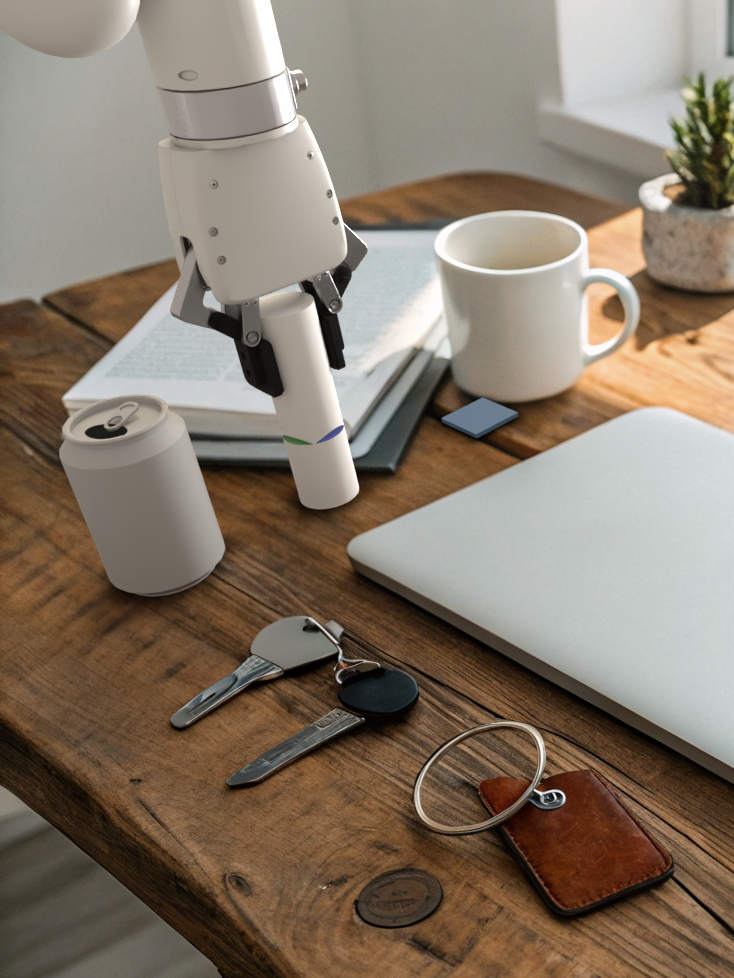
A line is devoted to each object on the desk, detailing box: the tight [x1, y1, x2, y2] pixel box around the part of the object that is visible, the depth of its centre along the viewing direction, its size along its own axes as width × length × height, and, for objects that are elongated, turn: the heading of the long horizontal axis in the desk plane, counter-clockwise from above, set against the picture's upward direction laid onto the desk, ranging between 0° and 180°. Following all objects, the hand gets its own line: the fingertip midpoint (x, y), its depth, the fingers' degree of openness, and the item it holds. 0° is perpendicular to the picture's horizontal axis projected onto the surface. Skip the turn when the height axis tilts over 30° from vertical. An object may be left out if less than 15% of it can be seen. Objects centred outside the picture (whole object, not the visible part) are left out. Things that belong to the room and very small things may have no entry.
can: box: [58, 393, 226, 598], centre depth 76 cm, size 8×8×12 cm
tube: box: [259, 290, 360, 510], centre depth 82 cm, size 4×4×15 cm
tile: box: [440, 397, 519, 439], centre depth 94 cm, size 4×4×1 cm
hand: (298, 374), depth 81 cm, fingers closed on tube, 4 cm apart
